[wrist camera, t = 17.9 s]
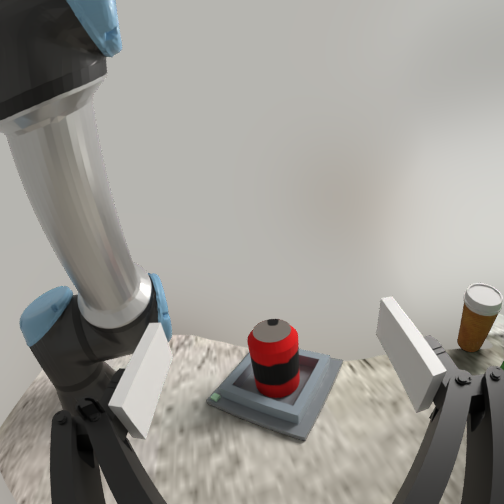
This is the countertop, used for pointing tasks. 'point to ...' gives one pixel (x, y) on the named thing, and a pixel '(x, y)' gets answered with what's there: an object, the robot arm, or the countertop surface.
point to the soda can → (274, 357)
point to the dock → (284, 408)
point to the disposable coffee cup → (478, 315)
